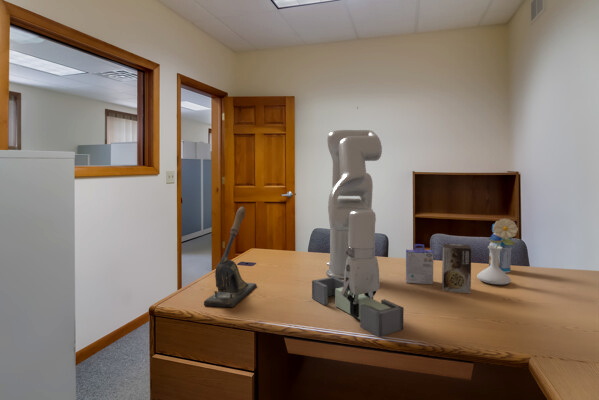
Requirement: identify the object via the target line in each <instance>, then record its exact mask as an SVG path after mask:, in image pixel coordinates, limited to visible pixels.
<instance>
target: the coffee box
mask: <svg viewBox="0 0 599 400" xmlns="http://www.w3.org/2000/svg"><path fill="white" fill-rule="evenodd" d="M441 274H442V275H441V277H442V278H441V279H442V280H441V289H442V291H443V292H451V293H462V294H463V293H464V294H471V293H472V292H471V289H472V288H471V287H472V281H471V280H472V247H471V246H470V245H469V244H462V243H461V244H460V243H459V244H457V243H455V244H454V243H442V272H441Z"/></svg>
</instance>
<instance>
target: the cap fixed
mask: <svg viewBox="0 0 599 400" xmlns="http://www.w3.org/2000/svg"><path fill="white" fill-rule="evenodd" d="M380 303H382V304H384V305H387V306H389V307H391V309H388V310H384V311H381V312H379V311H376V310H374V309H372V308H370V307H368V306H366V305H364V304H363V305H361V309H360V319H359V322H360V323H359V326H360V328H363V329H364V330H366V331H367V332H369V333H371V334H372V335H374V336H376V337H377V338H380V337H383V336H386V335H391V334H393V333H396V332H399V331H403V330H404V313H405V312H404V311H405V309H404V307H403V306H401V305H398V304H396V303H394V302H391V301H389V300H387V299H385V298H384V299H381V301H380Z"/></svg>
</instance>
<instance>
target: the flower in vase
mask: <svg viewBox="0 0 599 400" xmlns="http://www.w3.org/2000/svg"><path fill="white" fill-rule="evenodd" d="M493 224H494V227H493V230H494V232H493V233H496V234H495V235H496V236H499V237H503V239H504V240H503V239H502V240H501V242H502V241H503V243H504V244H505V245H511V246H512V245H513V246H514V245H516V243H515V242H514V241H513V239H512V238H514V237H516V235H517V233H518V231H519V227H517V224H516V222H515V221H513V220H511V219H508V218H500V219H499V220H495V223H493ZM509 237H510V238H511V239H512V240H510V239H509ZM487 238H488V240H489V241H492V242H495V243H497V242H496V241H493V240H491V239H490V237H487ZM501 242H500V243H501ZM500 243H499V244H500ZM497 244H498V243H497ZM499 244H498V245H499ZM498 245H497V246H489V245H488V246H487V248H488V249H489V252H490V253H491V264H490V266H489V265H488V267H487V268H484V269H483V270H481V271H480V272H478V273H477V275H476V277H477V279H478V280H479V281H480V282H484V283H485V284H491V285H496V286H497V285H499V286H500V285H507V284H509V283H511V281H512V279H511V277H510V276H509V275H508V273H505V272H503V271H502V270H501V269H500V268H499V266H498V255H499V252H500V251H501V249H502V247H499V246H498Z"/></svg>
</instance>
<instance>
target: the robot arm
mask: <svg viewBox="0 0 599 400" xmlns="http://www.w3.org/2000/svg"><path fill="white" fill-rule="evenodd" d="M326 140H327V148H328V151H329V154H330V156H331V160H332V161H331V162H332V177H331V178H332V181H331V182H332V183H331V184H332V189H331V190H330V194H329V195H328V206H327V210H328V211H327V212H328V221H329V233H330V234H329V242H330V243H329V261H328V262H326V265H327V266H328V269H327V270H326V271H325V272H326V273H325V274H326V276H328V277H336V278H338V279H340V280H342V279H343V281H344V287H343V289H342V291H341V295H342V296H344V297H346V298H347V299H348V301H349V302H350V314H349V315H351V316H352V315H353V316H352V317H355V318H356V319H358V318H357V317H359V304H358V303H357V301H358V295H360V294H363V295H365V296H367V297H369V298H371V299H373V300H374V296H375V295H376V294H377V292H378V291H379V289H380V288H381V285H380V267H379V262H378V261H379V260H378V258H377V256H376V255H375V254H376V251H375V250H376V245H375V244H376V222H377V221H376V220H377V217H376V213H375V212H374V210H373V208H372V207H373V206H372V205H373V204H372V203H373V188H374V187H373V186H374V185H373V183H374V182H373V178H372V176H371V174H369V173H367V168H366V162H375V161H379V160H380V159H381V157H382V154H383V153H382V152H383V150H382V149H383V147H382V142H381V139H380V137H379V136H378V135H377V134H376V133H375V132H374V131H373V130H367V129H366V130H365V129H362V130H361V129H357V130H356V129H337V130H333V131H330V132H329V133H328V135H327V139H326ZM339 197H342V198H339ZM343 197H348V198H343ZM349 197H359V198H349ZM348 291H349V294H348ZM353 294H354V298H353Z"/></svg>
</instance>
